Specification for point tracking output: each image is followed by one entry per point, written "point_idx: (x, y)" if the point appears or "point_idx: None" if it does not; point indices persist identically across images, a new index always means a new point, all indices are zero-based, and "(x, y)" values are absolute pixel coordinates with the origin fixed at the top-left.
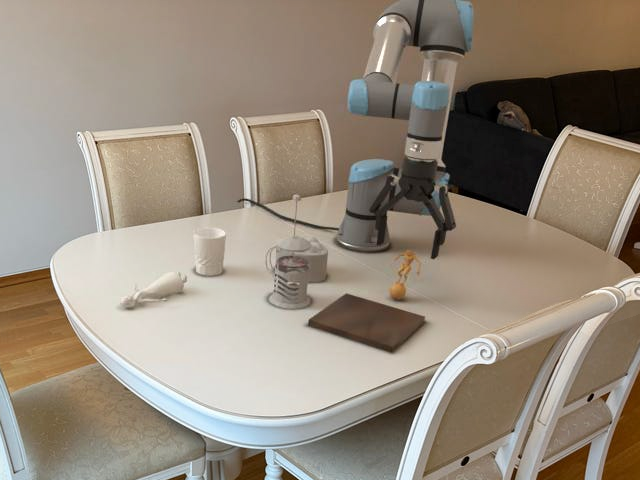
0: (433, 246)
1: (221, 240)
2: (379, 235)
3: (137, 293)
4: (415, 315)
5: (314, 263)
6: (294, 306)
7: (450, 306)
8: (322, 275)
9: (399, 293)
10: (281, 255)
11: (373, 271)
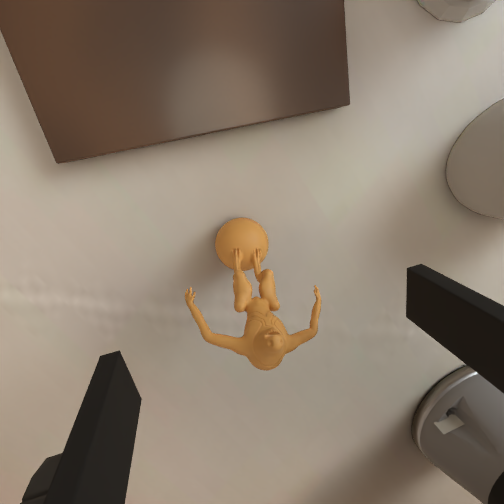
0: (96, 413)
1: None
2: (456, 291)
3: None
4: (82, 140)
5: None
6: None
7: (106, 321)
8: (462, 159)
9: (223, 228)
10: None
11: (375, 321)
